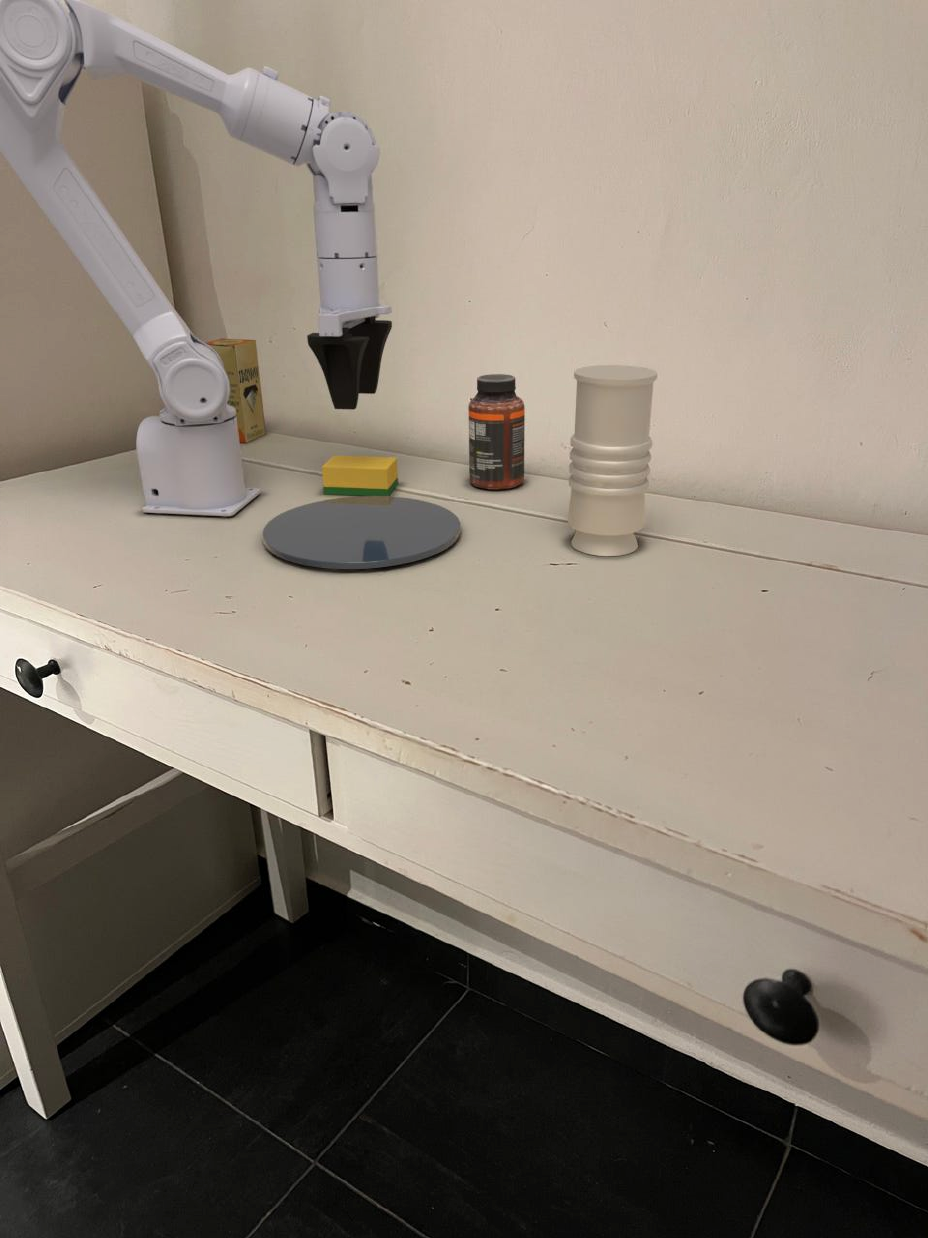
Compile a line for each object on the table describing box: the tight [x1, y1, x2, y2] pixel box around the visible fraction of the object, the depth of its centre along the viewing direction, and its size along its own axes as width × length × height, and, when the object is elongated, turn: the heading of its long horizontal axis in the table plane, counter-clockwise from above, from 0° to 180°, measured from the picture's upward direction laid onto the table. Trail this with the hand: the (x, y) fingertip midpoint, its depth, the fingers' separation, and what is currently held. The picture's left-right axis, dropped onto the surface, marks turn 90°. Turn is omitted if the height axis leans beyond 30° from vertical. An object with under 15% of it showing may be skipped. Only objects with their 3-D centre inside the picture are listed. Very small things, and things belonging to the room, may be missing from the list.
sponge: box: [321, 455, 399, 497], centre depth 94 cm, size 7×4×3 cm, turn 81°
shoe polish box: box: [205, 338, 267, 444], centre depth 113 cm, size 5×5×12 cm
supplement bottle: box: [467, 373, 526, 491], centre depth 93 cm, size 6×6×11 cm
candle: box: [567, 364, 658, 557], centre depth 76 cm, size 7×7×15 cm
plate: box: [261, 495, 462, 570], centre depth 81 cm, size 18×18×1 cm
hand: (356, 400), depth 90 cm, fingers open, 7 cm apart
